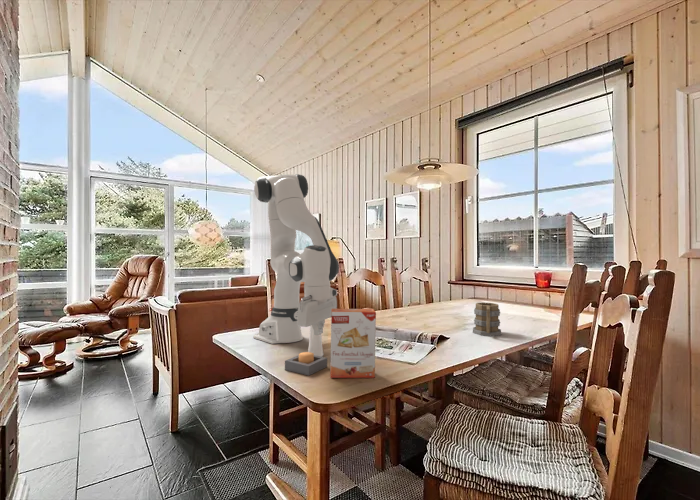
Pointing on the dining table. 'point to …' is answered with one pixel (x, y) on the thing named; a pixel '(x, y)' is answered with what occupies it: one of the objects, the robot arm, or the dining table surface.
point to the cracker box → (353, 343)
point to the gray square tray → (305, 365)
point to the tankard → (487, 319)
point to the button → (306, 357)
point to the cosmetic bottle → (315, 343)
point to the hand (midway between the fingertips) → (318, 334)
